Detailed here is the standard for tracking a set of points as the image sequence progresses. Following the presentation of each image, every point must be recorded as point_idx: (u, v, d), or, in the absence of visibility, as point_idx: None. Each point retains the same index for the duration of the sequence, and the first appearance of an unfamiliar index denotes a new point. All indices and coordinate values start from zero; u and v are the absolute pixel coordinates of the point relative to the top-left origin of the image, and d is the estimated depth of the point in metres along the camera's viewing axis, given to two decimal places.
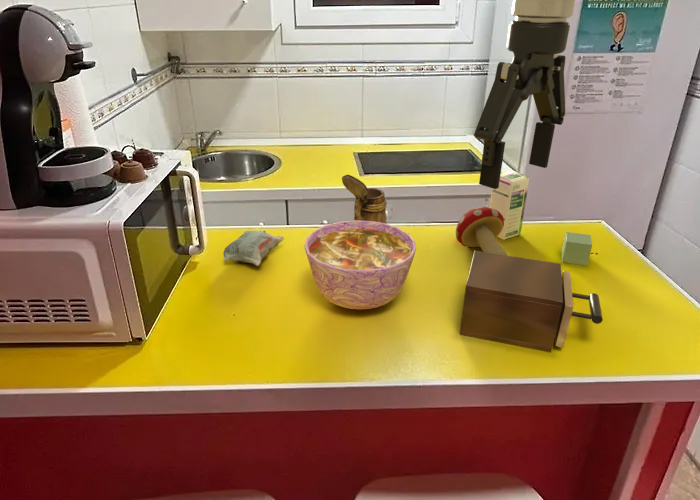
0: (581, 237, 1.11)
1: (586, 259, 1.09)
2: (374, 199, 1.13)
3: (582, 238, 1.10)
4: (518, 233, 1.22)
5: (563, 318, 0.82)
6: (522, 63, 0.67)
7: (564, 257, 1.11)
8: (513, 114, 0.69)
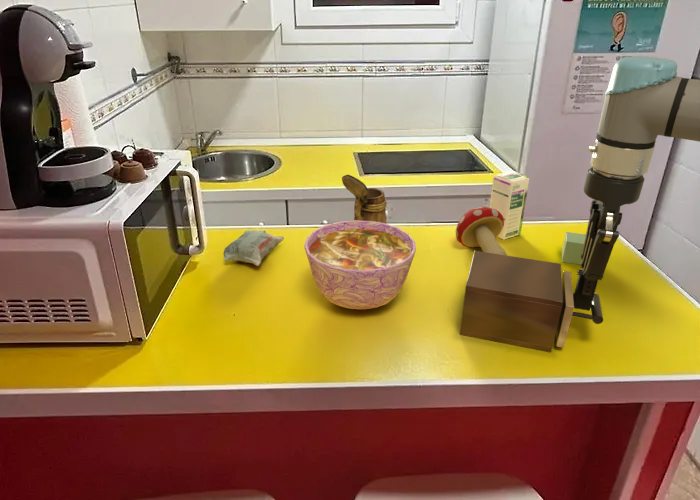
0: (581, 237, 1.11)
1: None
2: (374, 199, 1.13)
3: (582, 238, 1.10)
4: (518, 233, 1.22)
5: (564, 318, 0.82)
6: (615, 219, 0.74)
7: (564, 257, 1.11)
8: None
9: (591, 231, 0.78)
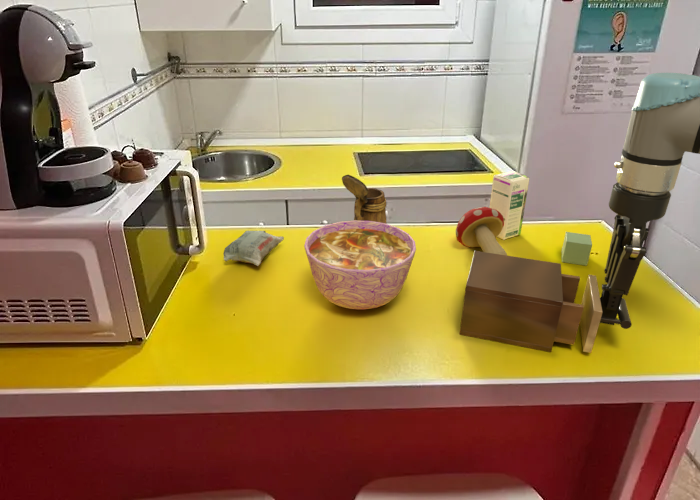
0: (581, 237, 1.11)
1: (586, 259, 1.09)
2: (374, 199, 1.13)
3: (582, 238, 1.10)
4: (518, 233, 1.22)
5: (592, 323, 0.80)
6: (641, 235, 0.74)
7: (564, 257, 1.11)
8: None
9: (616, 246, 0.78)
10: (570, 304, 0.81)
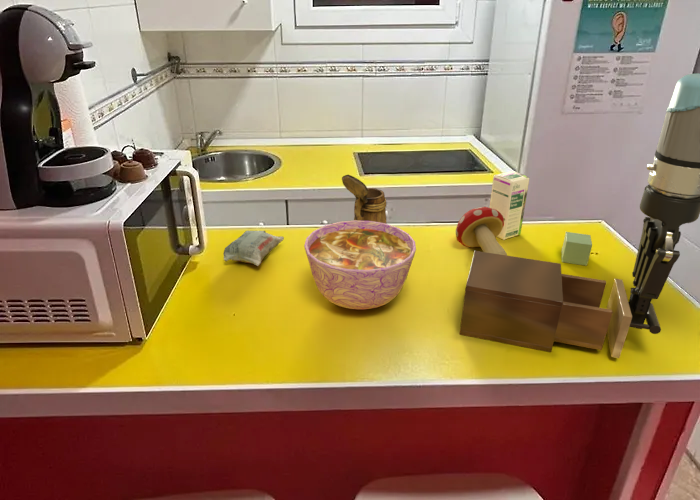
0: (581, 237, 1.11)
1: (586, 259, 1.09)
2: (374, 199, 1.13)
3: (582, 238, 1.10)
4: (518, 233, 1.22)
5: (621, 328, 0.79)
6: (674, 238, 0.73)
7: (564, 257, 1.11)
8: None
9: (647, 250, 0.77)
10: (599, 309, 0.80)
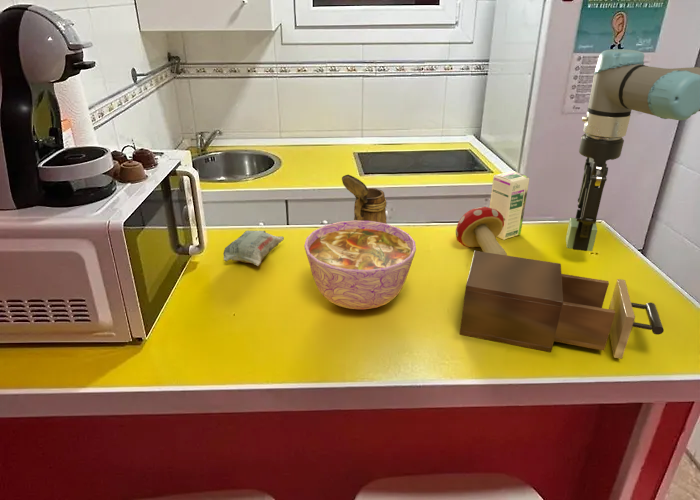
0: None
1: (591, 244, 1.07)
2: (374, 199, 1.13)
3: None
4: (518, 233, 1.22)
5: (623, 329, 0.79)
6: (602, 169, 0.99)
7: (569, 243, 1.09)
8: None
9: (585, 182, 1.02)
10: (601, 309, 0.80)
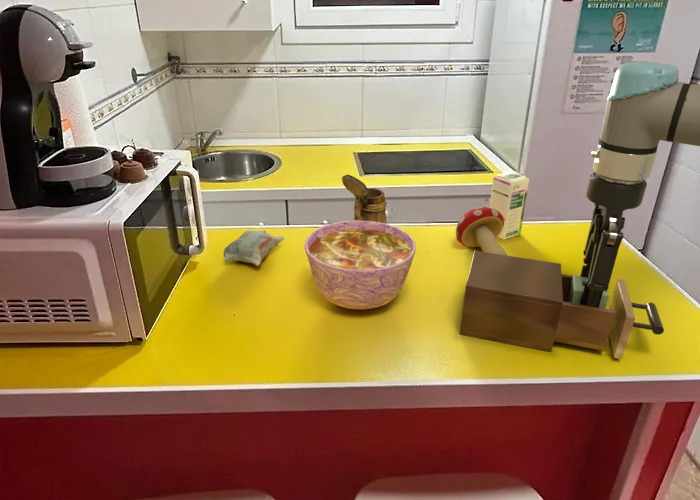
0: None
1: None
2: (374, 199, 1.13)
3: None
4: (518, 233, 1.22)
5: (624, 329, 0.79)
6: (618, 222, 0.74)
7: None
8: None
9: (595, 236, 0.78)
10: (601, 309, 0.80)
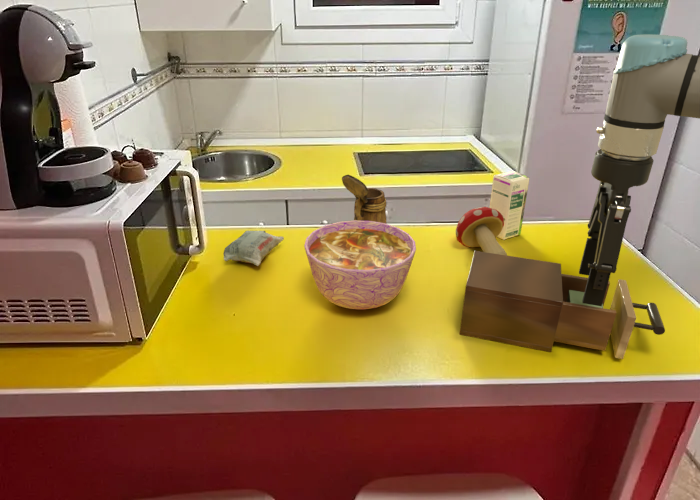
0: None
1: None
2: (374, 199, 1.13)
3: None
4: (518, 233, 1.22)
5: (625, 329, 0.79)
6: (624, 197, 0.72)
7: None
8: None
9: (600, 214, 0.76)
10: (602, 310, 0.80)
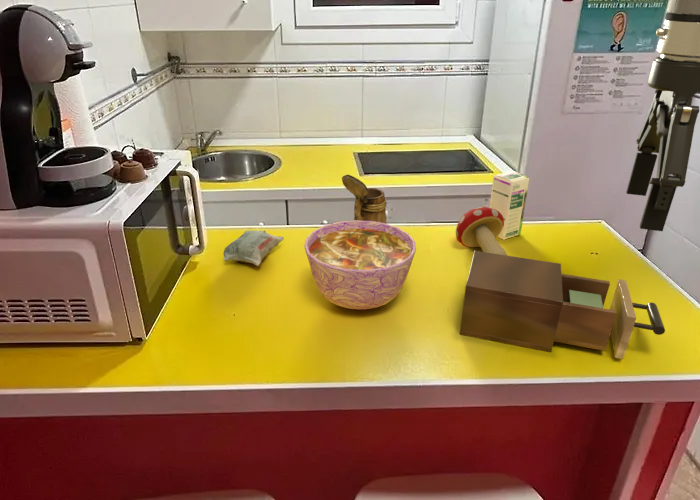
0: (589, 298, 0.86)
1: None
2: (374, 199, 1.13)
3: (591, 301, 0.85)
4: (518, 233, 1.22)
5: (625, 329, 0.79)
6: (688, 103, 0.65)
7: None
8: None
9: (661, 126, 0.68)
10: (602, 310, 0.80)
